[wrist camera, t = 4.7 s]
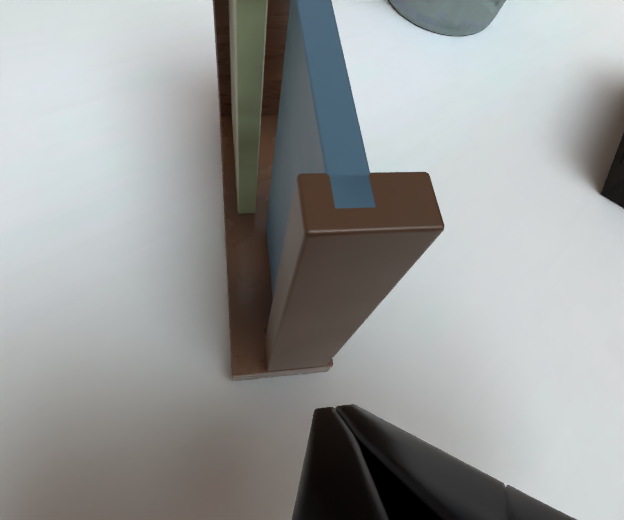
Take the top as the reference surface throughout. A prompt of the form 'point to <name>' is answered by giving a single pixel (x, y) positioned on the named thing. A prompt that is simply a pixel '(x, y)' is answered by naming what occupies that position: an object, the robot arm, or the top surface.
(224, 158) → the brown wooden panel stand
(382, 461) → the robot arm
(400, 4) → the embossed grey plant pot
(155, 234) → the top surface
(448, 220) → the top surface
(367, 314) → the sliding door
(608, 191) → the digital camera
